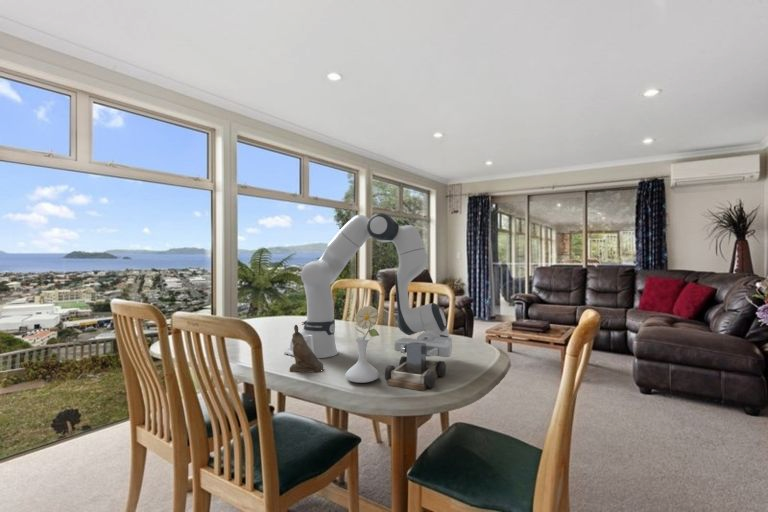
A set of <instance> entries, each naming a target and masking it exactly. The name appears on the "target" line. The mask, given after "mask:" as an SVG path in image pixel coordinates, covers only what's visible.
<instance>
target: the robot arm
mask: <svg viewBox="0 0 768 512" xmlns="http://www.w3.org/2000/svg"><path fill="white" fill-rule="evenodd" d="M371 238H372V239H374V240H376V241H377V242H380V243H384V244H390V243H392V244H393V245H394V246H395V249H396V252H397V256H398V267H397V270H396V271H395V273H394V284H395V286H394V288H395V295H396V296H395V298H396V305H397V307H396V308H397V326H398V329H399V331H401V332H402V333H403V334H404V335H408V336H412V335H415V334H417V333H420V334H418V336H417V337H416V338H410V337H402V338H398V339H396V340H394V343H393V344H394V345H393V347H394V351H395V352H400V354H407V345H408V344H409V343H411V342H418V343H426V358H427V357H429V358H430V357H433V356H434V357H444V358H449V357H451V356H452V354H453V353H452V352H453V342H452V341H453V339H452V337H451V336H450V331H449V329H448V328H447V325H448V320H447V317H446V313H445V311H444V309H443V308H442V307H441V306H440V305H439V304H437V303H434V302H431V303H427V304H423V305H420V306H415V307H413V308H412V307H410V299H409V298H410V297H409V285H410V283H411V282H412V281H413V280H414V279H416V278H417V277H418V276H419V275H420V274H422V273H423V272H424V270H425V269H426V267H427V265H428V254H427V250H426V247H425V244H424V240H423V239H422V236H421V234H420V232H419V230H418V228H417V227H416V226H414V225H410V224H406V225H400V224H399V222H397V221H396V219H395V218H394V217H392V216H391V215H389V214H387V213H383V212H378V213H374V214H373V215H372V216H370V217H367V216H365V215H362V214H356V215H354V216H353V217H351V218H350V219H349V220H348V221H347V222H346V223H345V224H344V225H343V226H342V227H341V228H340V230H338V232H337V233H336V234H335V235H334V236H333V238H332V239H331V240H330V242H329V243H328V244H327V246H326V247H325V248H326V249H325V250H324V252H323V253H322V255H321V256H320V257H319V259H318V260H312V261H310V262H308V263H306V264H305V265H304V266H303V268H302V269H301V272H300V279H301V282H302V283H303V288H304V293H305V297H306V320H305V321H302V322H301V326H303V329H302V330H300V331H298V332H299V333H301V334H302V335H303V337H304V339H305V341H306V343H307V345H308V347H309V348H310V349H311V350H312V352H313V353H314V354H315V356H316V357H317V358H318V359H325V358H331V357H333V356H336V355H337V354H338V353H339V352H338V348H337V343H336V337H335V332H336V331H335V329H336V319H335V306H334V305H335V303H334V302H335V301H334V298H333V294H332V288H331V284H333V283H335V281H336V280H337V278H338V277H339V275H341V273H342V271H343V270H344V269H345V268H346V266H347V264H348V263H349V261H350V260H351V259H352V258H353V257H354V256H355V255H356V253H357V252H358V251H359V250H360V248H361V247H362V246H363V245H364V244H365V243H366V242H367V241H368V240H369V239H371ZM283 353H284V355H287V354H288V355H289V356H291V355H292V356H293V357H294V354H293V342H292V339H291V341H290V345H289V348H287V349H285V350H284V352H283ZM288 355H287V356H288ZM292 356H291V357H292Z"/></svg>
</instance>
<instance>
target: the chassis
mask: <svg viewBox="0 0 768 512" xmlns="http://www.w3.org/2000/svg"><path fill="white" fill-rule="evenodd" d="M398 364H399V365H398V366H397V367H395V366H394V365H391V364H388V365H387V366H386V367H385V371H384V379H385V381H386V382H387V386H390V387H391V386H392V387H396V388H403V389H409V390H413V391H414V390H415V391H420V392H421V391H422V392H425V390H427V388H430V389H433V388H434V386H435V383H436V379H437V378H438V377H443V378H444V377H445V375H446V372H447V371H446V370H447V367H446V366H447V365H446V362H445V361H443V360H438V361H435V360H427V359H426V371H425V372H424V373H423V374H422V375H419V374H412V373H407V356H405V355H403V356H401V357H400V358H399V363H398Z"/></svg>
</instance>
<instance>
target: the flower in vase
mask: <svg viewBox="0 0 768 512" xmlns="http://www.w3.org/2000/svg"><path fill="white" fill-rule="evenodd" d="M379 318H380V316H379V309H377V308H376V307H374V306H371V305H367V306H363V307H362V308H361V307H360V308H359V310H358V311H357V312H356V314H355V316H354V319H355V324H356V326H357V327H359V328H362V329H363V330H367V329H368V330H367V332H366V334H365V333H364V331H361V330H360V329H358V328H357V327H356V326H355V330H356V331H358V332H360V333H361V334H363V335H364V336H357V337H355V338H354V340H355V341H356V344H357V347H358V360H357V361H356V363H355V364H353V365H352V366H351V367H349V369H347V371H346V372H345V374H344V377H345V378H346V380H348V381H350V382H353V383H358V384H359V383H363V384H364V383H365V384H366V383H370V382H374V381H375V380H377V379H379V378H380V375H381V373H380V372H379V370H377V368H375V367H374V366H373V365H372V364H370V363H369V362H368V360H367V356H366V355H367V347H368V346H367V345H368V343H369V341H370V340H371V337H377V336H380V334H379V332H378V331H377V330H376V328H372V327H374V326H375V325H376V323H377V322H378V320H379ZM371 328H372V329H371ZM368 334H369V336H370V337H368V336H367V335H368Z"/></svg>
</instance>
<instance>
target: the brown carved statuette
mask: <svg viewBox="0 0 768 512" xmlns="http://www.w3.org/2000/svg"><path fill="white" fill-rule="evenodd" d="M293 329H294V332H293V333H292V338H291V340H292V342H293V354H294V356H293V357H294V360H295V362H294V363H293V364H292V365H290V367H289V371H321V370H323V371H324V369H323V368H324V364H323V363H322V361H320V359H319V358H317V357H316V356H315V354H314V353H313V352H312V350H311V349H310V348H309V347H308V345H307V343H306V341H305V339H304V337H303V335H302V334H301V333H299V332H300V331H299V326H298V325H297V324H295V325H294V327H293ZM321 372H322V371H321Z"/></svg>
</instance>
